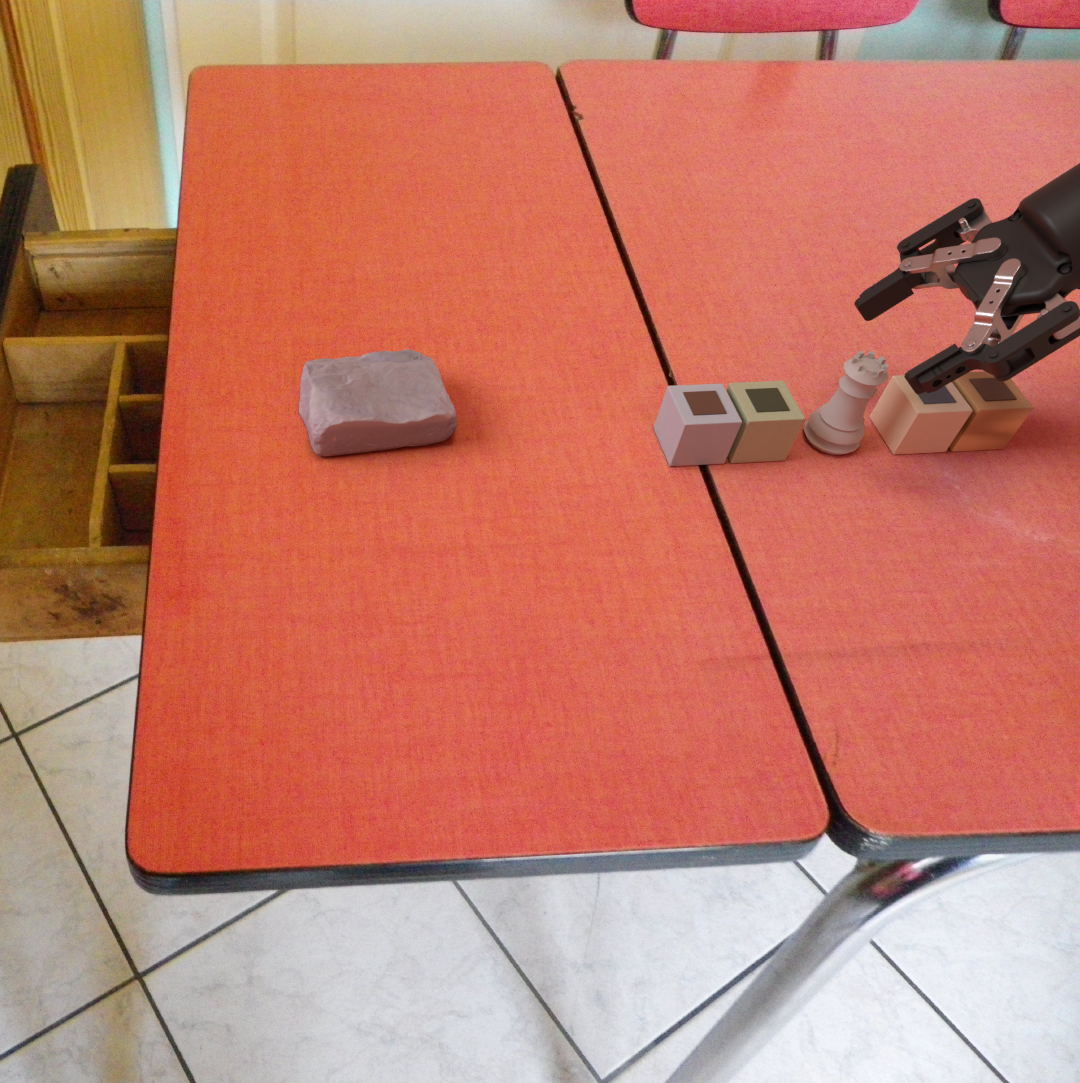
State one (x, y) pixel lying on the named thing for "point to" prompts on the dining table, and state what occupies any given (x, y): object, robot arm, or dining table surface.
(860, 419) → the rook chess piece
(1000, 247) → the robot arm
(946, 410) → the block
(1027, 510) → the dining table surface
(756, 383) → the block
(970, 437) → the block
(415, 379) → the stone block
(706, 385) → the block
